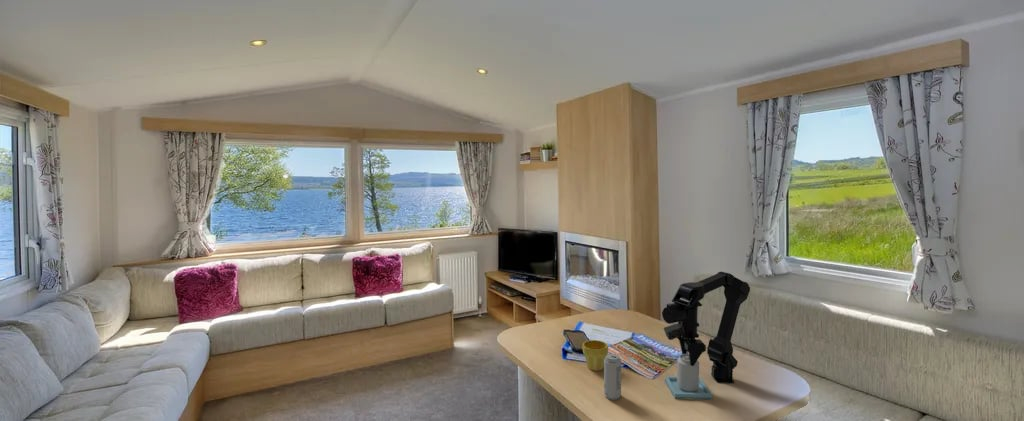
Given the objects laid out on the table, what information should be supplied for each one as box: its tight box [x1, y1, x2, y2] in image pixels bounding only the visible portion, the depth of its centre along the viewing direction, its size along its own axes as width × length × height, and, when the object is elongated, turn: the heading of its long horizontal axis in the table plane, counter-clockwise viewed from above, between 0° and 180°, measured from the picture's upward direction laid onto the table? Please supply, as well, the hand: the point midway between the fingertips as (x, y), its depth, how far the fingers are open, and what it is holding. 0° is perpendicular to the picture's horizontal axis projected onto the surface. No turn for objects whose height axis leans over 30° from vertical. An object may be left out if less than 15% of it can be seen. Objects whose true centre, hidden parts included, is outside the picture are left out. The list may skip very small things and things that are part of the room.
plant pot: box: [582, 339, 609, 372], centre depth 177 cm, size 10×10×10 cm
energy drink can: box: [603, 353, 622, 401], centre depth 154 cm, size 6×6×15 cm
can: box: [676, 353, 700, 392], centre depth 158 cm, size 8×8×12 cm
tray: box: [664, 375, 714, 400], centre depth 158 cm, size 13×13×2 cm
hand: (688, 360), depth 157 cm, fingers open, 9 cm apart
